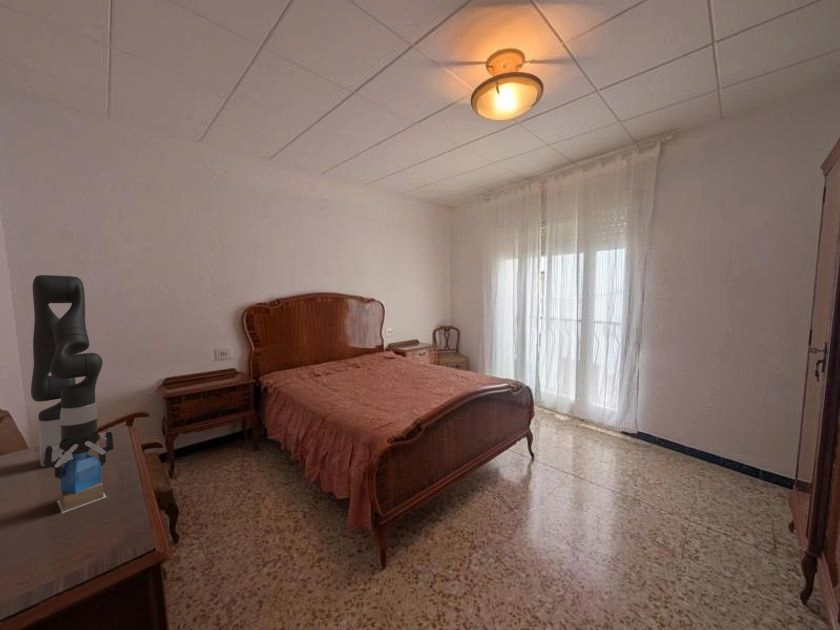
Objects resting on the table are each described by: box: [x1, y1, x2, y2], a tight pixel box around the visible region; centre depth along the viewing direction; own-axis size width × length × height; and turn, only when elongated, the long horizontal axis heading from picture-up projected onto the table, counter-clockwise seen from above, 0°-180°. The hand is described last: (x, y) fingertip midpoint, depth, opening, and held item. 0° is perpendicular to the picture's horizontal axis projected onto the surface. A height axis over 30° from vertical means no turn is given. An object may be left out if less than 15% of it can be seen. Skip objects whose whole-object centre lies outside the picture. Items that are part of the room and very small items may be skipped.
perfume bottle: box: [60, 448, 102, 494], centre depth 96 cm, size 6×6×12 cm
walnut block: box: [59, 481, 105, 512], centre depth 96 cm, size 8×8×4 cm
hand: (81, 471), depth 96 cm, fingers open, 8 cm apart
